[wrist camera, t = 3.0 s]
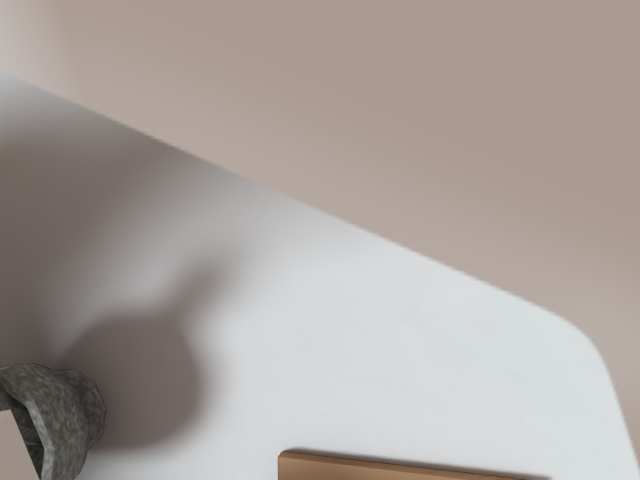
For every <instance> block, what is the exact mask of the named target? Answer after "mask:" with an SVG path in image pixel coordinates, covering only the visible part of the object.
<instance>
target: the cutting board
mask: <svg viewBox="0 0 640 480" xmlns="http://www.w3.org/2000/svg"><path fill="white" fill-rule="evenodd" d="M278 480H521V479H512V478H504V477H495V476H487V475H478V474H470V473H461V472H453V471H444V470H436V469H427V468H419V467H410V466H401V465H393V464H384V463H376V462H367V461H359V460H350V459H342V458H333V457H325V456H316V455H308V454H299V453H290V452H281V453H280V455H279V456H278Z"/></svg>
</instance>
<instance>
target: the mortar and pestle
mask: <svg viewBox="0 0 640 480" xmlns="http://www.w3.org/2000/svg"><path fill="white" fill-rule="evenodd" d="M10 409H11V412H12V414H13V417H14V419H15V421H16V424H17V426H18V429H19V431H20V434H21V436H22V438H23V441H24V443H25V446H26V448H27V451H28V453H29V456H30V458H31V460H32V463H33V465H34V468H35V470H36V473H37V475H38V477H39V480H74V479H75V478H76V477H77V476H78V475H79V474H80V472H81V469H82V467H83V464H84V462H85V459H86V456H87V450H88V449H89V448H90V447H91V446H92V445H93V444H94V443H95V442H96V441H97V440H98V439H99V438H100V437H101V436H102V435H103V428H104V421H105V413H106V407H105V405H104V402H103V400H102V398H101V396H100V393H99V391H98V389H97V386H96V384H95V383H94V382H93V381H91V380H90V379H88V378H87V377H85V376H84V375H83V374H81V373H80V372H78V371H77V370H75V369H67V370H55V371H52V370H51V369H49V368H48V367H44V366H41V365H38V364H35V363H27V364H16V365H5V366H0V411H5V410H10Z"/></svg>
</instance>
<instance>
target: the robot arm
mask: <svg viewBox="0 0 640 480" xmlns="http://www.w3.org/2000/svg"><path fill="white" fill-rule="evenodd" d="M0 480H39V477H38V475H37V473H36V470H35V468H34V465H33V463H32V460H31V458H30V456H29V453H28V451H27V448H26V446H25V443H24V441H23V438H22V436H21V434H20V431H19V429H18V426H17V424H16V421H15V419H14V417H13V414H12V412H11V409H10V410H5V411H0Z"/></svg>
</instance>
